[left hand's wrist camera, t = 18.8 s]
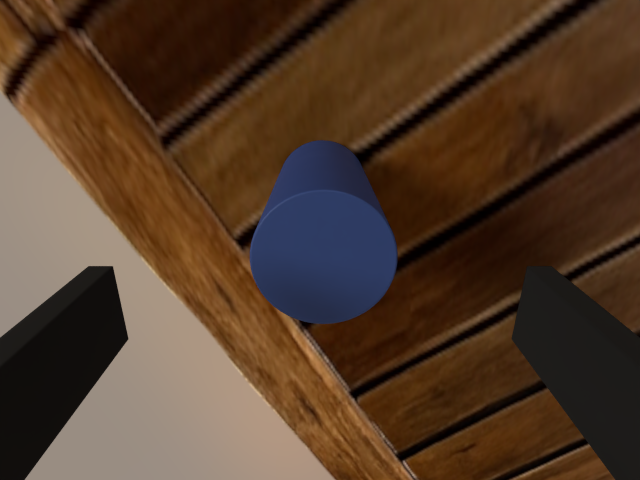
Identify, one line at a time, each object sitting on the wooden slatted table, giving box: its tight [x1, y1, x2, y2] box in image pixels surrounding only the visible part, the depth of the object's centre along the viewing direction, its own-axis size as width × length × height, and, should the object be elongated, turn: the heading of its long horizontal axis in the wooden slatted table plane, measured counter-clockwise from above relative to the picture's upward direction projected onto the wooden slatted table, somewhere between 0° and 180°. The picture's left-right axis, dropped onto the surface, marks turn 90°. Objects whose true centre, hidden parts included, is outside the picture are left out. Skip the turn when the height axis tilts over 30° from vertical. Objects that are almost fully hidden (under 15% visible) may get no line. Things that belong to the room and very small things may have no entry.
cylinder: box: [250, 140, 397, 324], centre depth 22 cm, size 6×6×13 cm
